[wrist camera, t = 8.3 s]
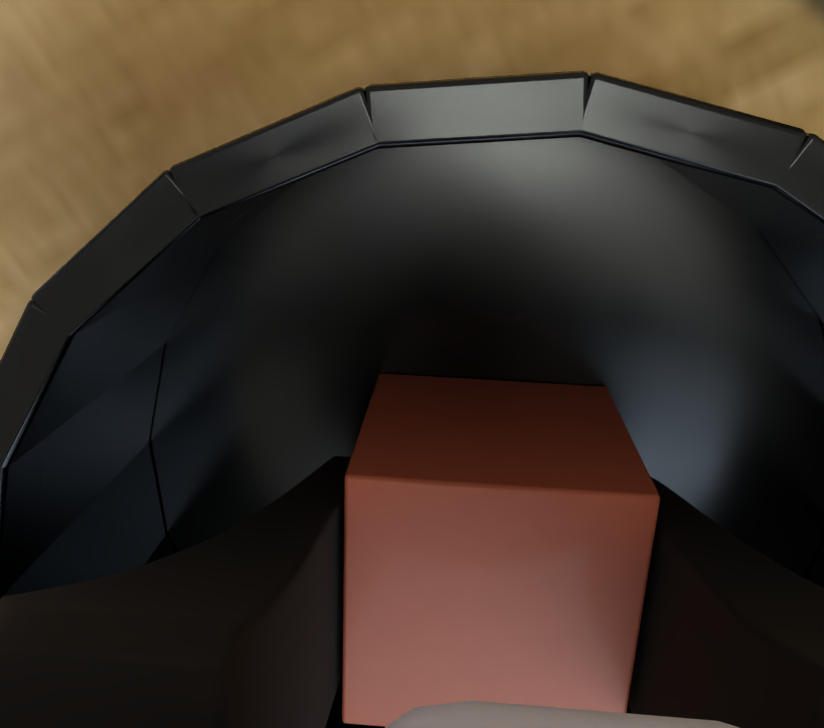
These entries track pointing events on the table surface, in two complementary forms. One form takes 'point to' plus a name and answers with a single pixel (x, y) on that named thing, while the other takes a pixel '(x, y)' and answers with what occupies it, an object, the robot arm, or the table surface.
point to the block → (492, 548)
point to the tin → (426, 311)
